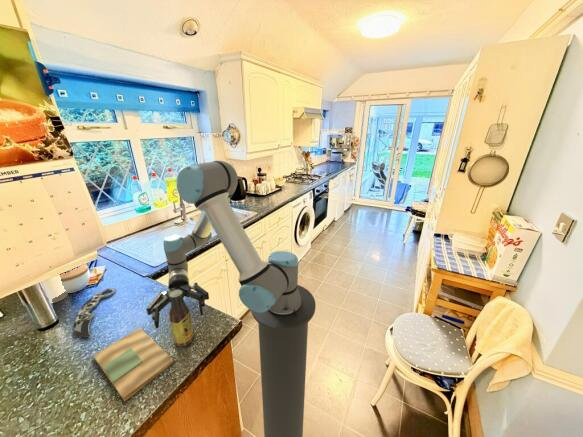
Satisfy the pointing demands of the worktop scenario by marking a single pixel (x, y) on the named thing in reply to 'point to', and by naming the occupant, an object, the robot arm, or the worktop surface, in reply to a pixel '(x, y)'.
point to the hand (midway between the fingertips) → (179, 318)
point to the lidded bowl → (75, 279)
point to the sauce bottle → (180, 319)
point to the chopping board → (132, 362)
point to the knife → (88, 313)
